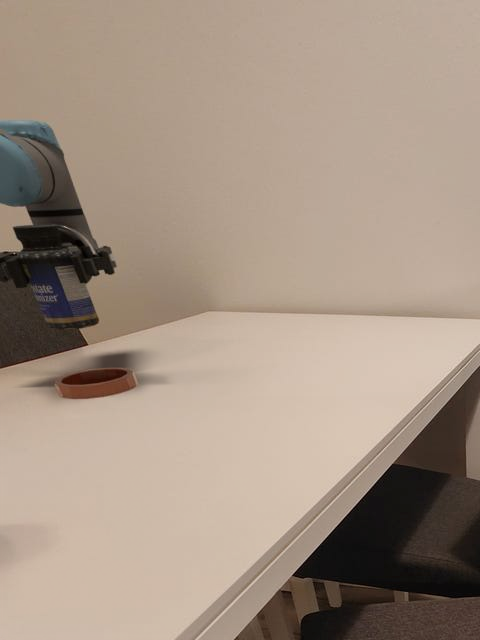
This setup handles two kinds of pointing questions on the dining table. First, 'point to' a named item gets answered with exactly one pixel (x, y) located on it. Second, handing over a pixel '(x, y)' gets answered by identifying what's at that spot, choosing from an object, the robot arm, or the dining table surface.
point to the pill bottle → (54, 278)
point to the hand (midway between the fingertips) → (47, 272)
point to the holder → (96, 383)
